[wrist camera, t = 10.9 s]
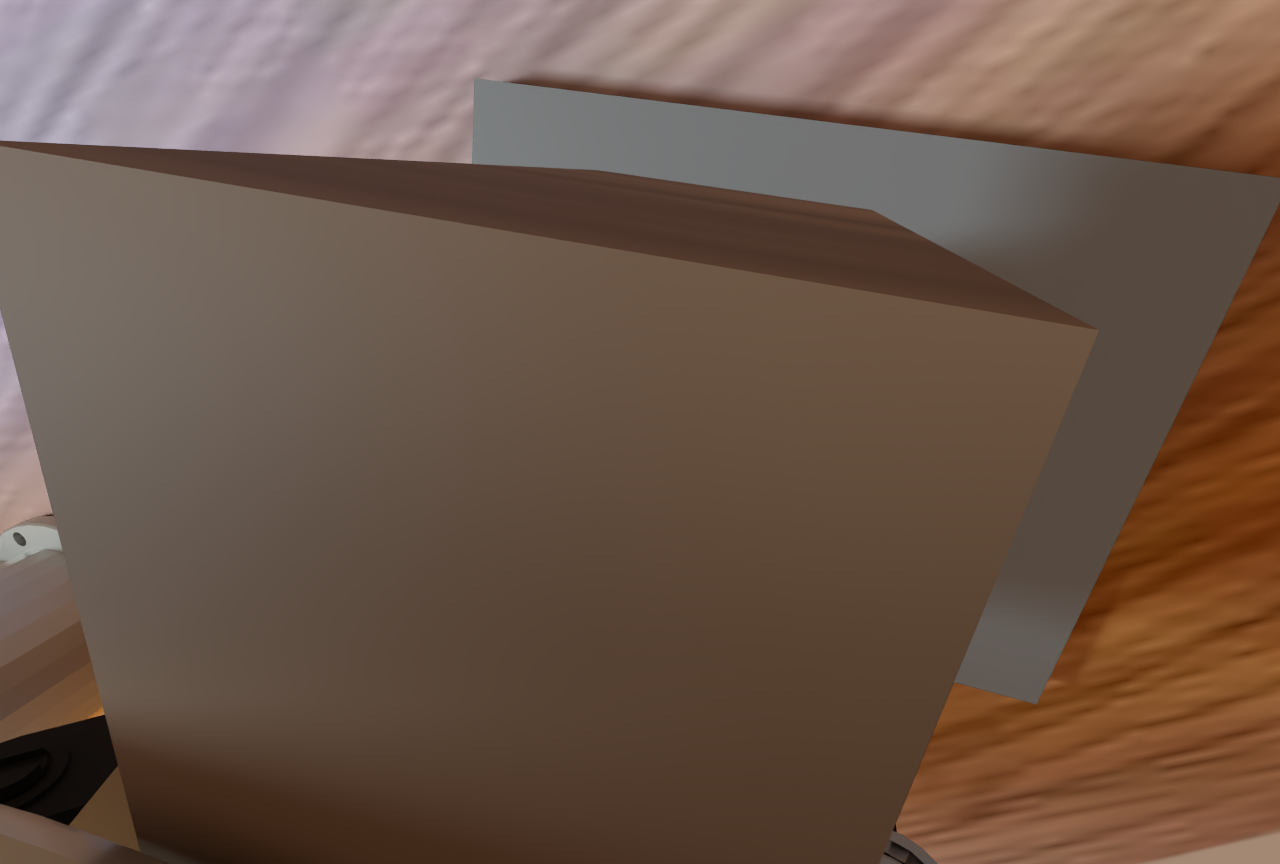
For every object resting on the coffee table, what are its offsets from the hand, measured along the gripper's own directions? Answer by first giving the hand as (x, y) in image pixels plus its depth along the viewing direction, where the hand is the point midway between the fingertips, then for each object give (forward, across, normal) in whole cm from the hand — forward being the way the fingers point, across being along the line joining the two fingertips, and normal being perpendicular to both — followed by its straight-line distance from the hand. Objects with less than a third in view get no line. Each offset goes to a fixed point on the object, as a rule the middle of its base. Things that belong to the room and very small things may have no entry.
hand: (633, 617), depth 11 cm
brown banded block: (+4, 0, 0) cm, 4 cm away
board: (+14, -2, 0) cm, 14 cm away
